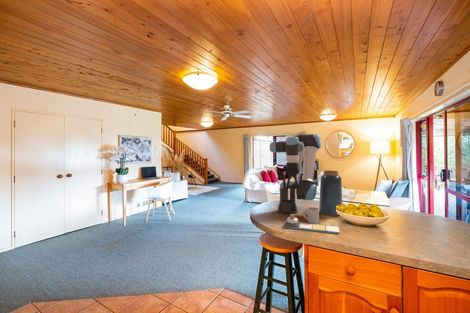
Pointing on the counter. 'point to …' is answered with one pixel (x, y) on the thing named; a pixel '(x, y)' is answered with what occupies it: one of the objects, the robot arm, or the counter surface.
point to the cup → (312, 215)
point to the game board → (313, 227)
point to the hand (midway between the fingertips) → (292, 199)
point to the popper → (292, 219)
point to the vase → (330, 193)
